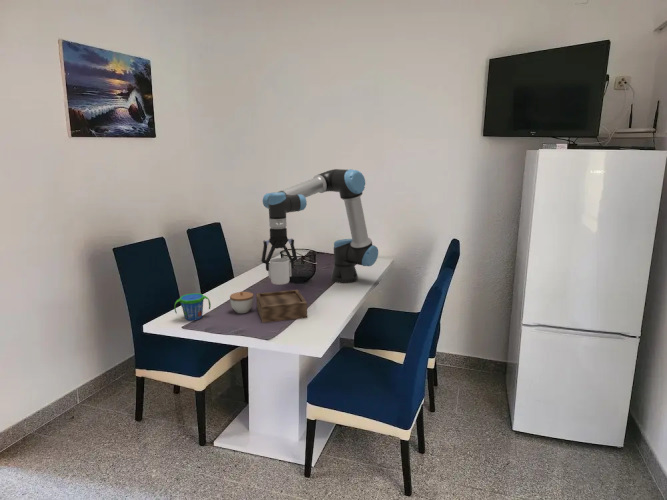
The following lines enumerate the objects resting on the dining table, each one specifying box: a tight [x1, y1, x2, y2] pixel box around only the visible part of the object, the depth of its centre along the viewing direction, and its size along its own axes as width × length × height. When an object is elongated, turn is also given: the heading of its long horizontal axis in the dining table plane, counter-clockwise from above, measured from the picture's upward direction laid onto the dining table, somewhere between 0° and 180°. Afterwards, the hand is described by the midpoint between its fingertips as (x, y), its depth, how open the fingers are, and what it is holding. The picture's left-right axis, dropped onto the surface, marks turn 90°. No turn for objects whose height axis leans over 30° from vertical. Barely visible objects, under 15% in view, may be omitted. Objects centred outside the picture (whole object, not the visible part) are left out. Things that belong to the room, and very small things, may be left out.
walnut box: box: [255, 289, 308, 323], centre depth 222 cm, size 20×20×7 cm
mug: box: [269, 257, 290, 286], centre depth 218 cm, size 12×8×10 cm
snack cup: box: [173, 292, 212, 322], centre depth 216 cm, size 16×10×10 cm
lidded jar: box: [229, 291, 254, 314], centre depth 225 cm, size 11×11×9 cm
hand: (280, 276), depth 219 cm, fingers closed on mug, 9 cm apart
